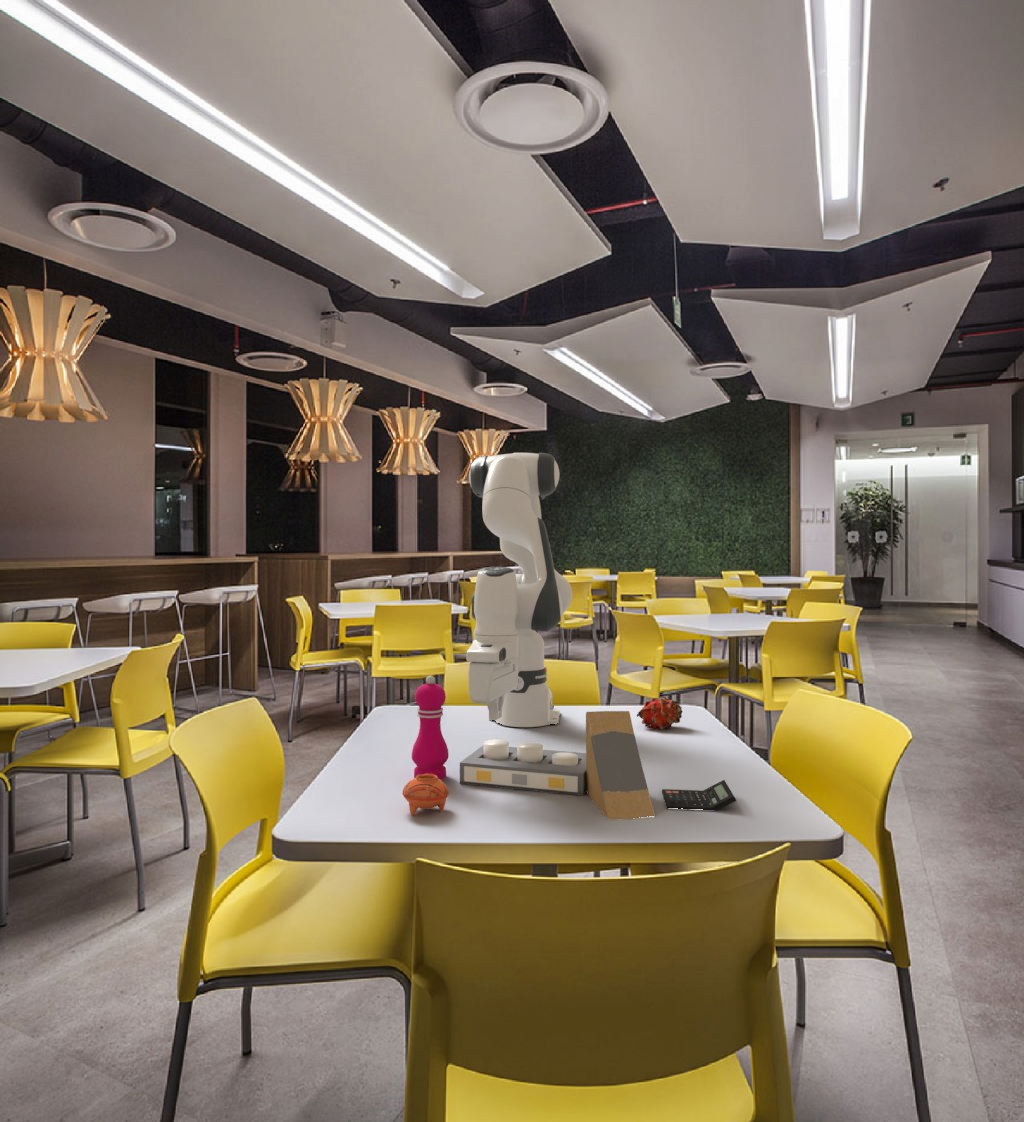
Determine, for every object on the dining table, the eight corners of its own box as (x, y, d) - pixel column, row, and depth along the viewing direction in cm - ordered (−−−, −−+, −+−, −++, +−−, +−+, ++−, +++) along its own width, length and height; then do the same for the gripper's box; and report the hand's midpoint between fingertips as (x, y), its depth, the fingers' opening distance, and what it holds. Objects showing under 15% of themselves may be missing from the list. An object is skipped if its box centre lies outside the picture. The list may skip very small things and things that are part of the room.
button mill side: (488, 759, 148) (488, 738, 148) (511, 761, 146) (511, 740, 146) (479, 766, 143) (480, 744, 143) (504, 768, 142) (504, 746, 142)
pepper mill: (416, 784, 139) (417, 679, 139) (407, 774, 145) (407, 673, 145) (453, 780, 141) (453, 677, 141) (442, 770, 148) (442, 671, 148)
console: (483, 763, 153) (483, 744, 153) (597, 773, 146) (597, 753, 146) (458, 784, 139) (458, 763, 139) (582, 796, 132) (582, 774, 132)
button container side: (555, 772, 144) (555, 751, 144) (580, 775, 142) (580, 753, 142) (549, 780, 139) (549, 758, 139) (575, 782, 138) (575, 760, 138)
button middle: (521, 762, 146) (521, 741, 146) (545, 764, 144) (545, 743, 144) (514, 769, 141) (514, 747, 141) (539, 771, 140) (539, 749, 140)
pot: (392, 806, 126) (401, 766, 127) (435, 810, 129) (443, 772, 130) (405, 819, 119) (415, 777, 119) (450, 824, 122) (458, 783, 123)
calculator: (661, 793, 135) (661, 777, 135) (726, 796, 134) (726, 779, 134) (667, 811, 125) (667, 793, 125) (736, 813, 124) (736, 796, 124)
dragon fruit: (687, 734, 185) (640, 742, 185) (676, 709, 192) (631, 716, 191) (689, 712, 180) (641, 719, 180) (678, 687, 187) (632, 694, 186)
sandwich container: (607, 821, 120) (607, 730, 120) (584, 792, 135) (584, 711, 135) (657, 819, 121) (657, 729, 121) (629, 790, 136) (629, 710, 136)
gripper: (497, 643, 155) (496, 708, 155) (462, 653, 136) (462, 727, 136) (525, 644, 154) (525, 710, 153) (494, 654, 134) (494, 730, 134)
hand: (495, 718), depth 144 cm, fingers closed
